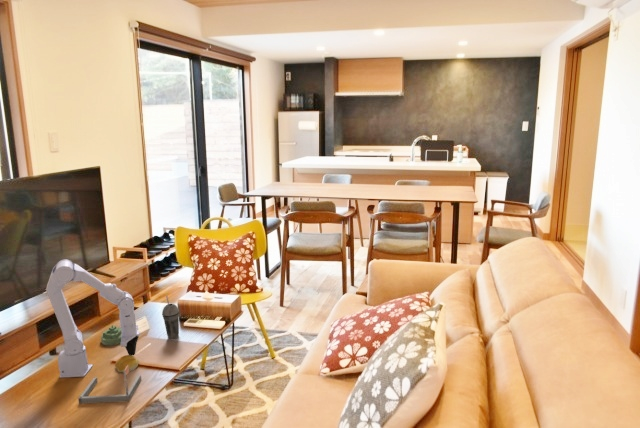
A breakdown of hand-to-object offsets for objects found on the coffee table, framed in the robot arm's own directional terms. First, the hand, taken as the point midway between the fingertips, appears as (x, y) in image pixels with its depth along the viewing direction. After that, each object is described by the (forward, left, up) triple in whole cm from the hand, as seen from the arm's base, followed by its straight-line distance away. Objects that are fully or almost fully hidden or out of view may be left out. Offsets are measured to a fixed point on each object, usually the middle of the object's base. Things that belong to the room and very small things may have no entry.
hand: (132, 354), depth 192 cm
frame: (0, -22, -2) cm, 22 cm away
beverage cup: (+12, +17, -2) cm, 21 cm away
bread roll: (0, -6, -2) cm, 6 cm away
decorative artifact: (-14, +17, -2) cm, 22 cm away
